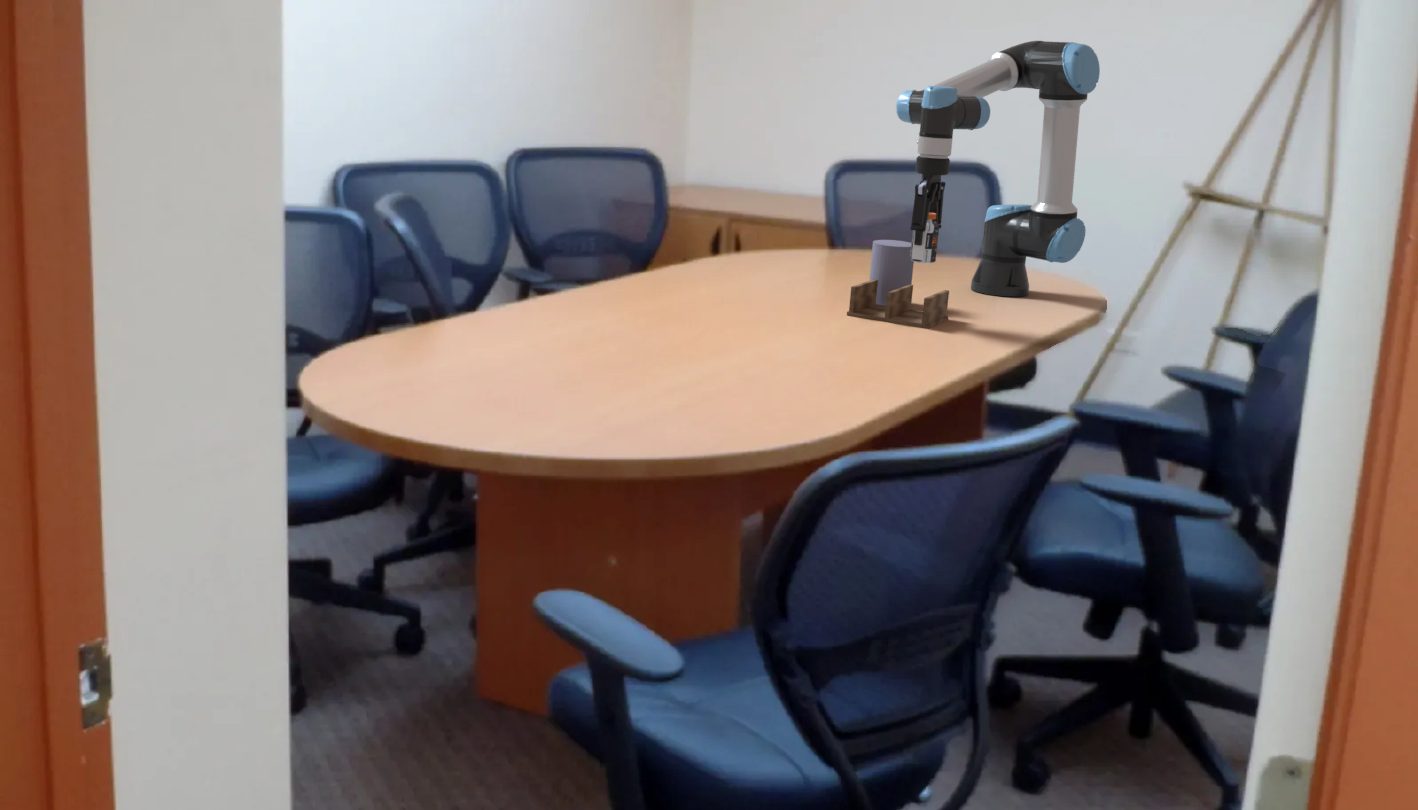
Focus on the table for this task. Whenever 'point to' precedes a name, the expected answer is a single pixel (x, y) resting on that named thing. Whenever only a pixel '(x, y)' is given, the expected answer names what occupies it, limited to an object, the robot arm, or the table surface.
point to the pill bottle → (929, 240)
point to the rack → (897, 306)
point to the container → (890, 267)
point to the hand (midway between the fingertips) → (922, 257)
